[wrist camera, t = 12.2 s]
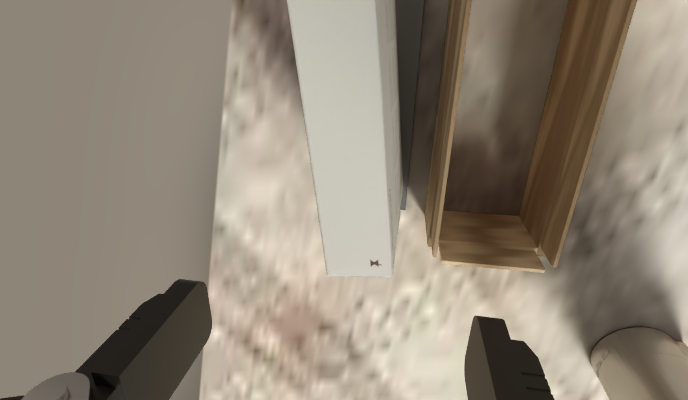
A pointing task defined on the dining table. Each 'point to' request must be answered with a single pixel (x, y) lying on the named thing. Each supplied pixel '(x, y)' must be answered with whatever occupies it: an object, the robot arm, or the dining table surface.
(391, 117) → the skincare box
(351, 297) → the dining table surface
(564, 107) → the carton
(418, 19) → the mat
